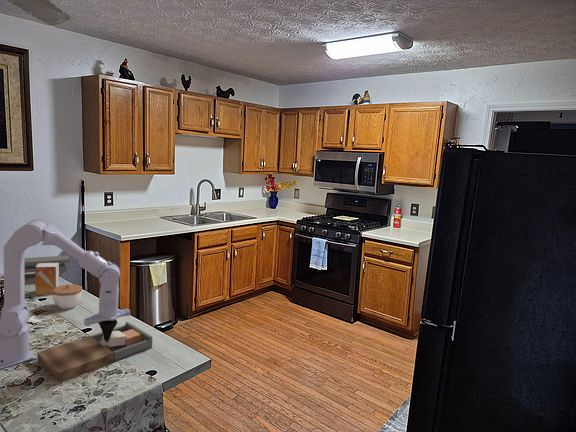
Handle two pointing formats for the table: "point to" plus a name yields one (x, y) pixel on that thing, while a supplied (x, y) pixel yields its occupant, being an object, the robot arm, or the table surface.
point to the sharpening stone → (33, 262)
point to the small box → (46, 278)
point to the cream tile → (116, 339)
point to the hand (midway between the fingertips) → (106, 340)
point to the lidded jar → (67, 296)
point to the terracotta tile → (132, 337)
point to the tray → (122, 350)
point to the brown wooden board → (74, 358)
